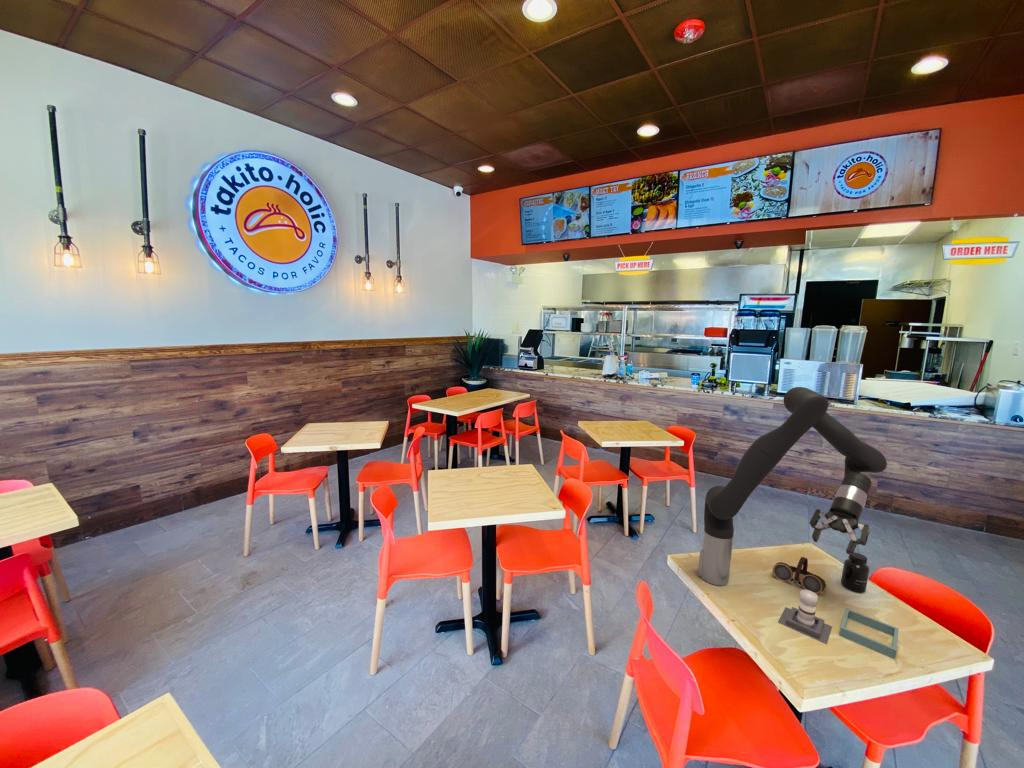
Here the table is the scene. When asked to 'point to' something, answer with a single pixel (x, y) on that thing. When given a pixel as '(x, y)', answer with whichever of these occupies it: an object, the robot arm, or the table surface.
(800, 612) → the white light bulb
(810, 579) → the goggles
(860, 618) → the parts tray
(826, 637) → the grey recessed base plate
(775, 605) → the table surface
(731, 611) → the table surface
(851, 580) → the supplement bottle
